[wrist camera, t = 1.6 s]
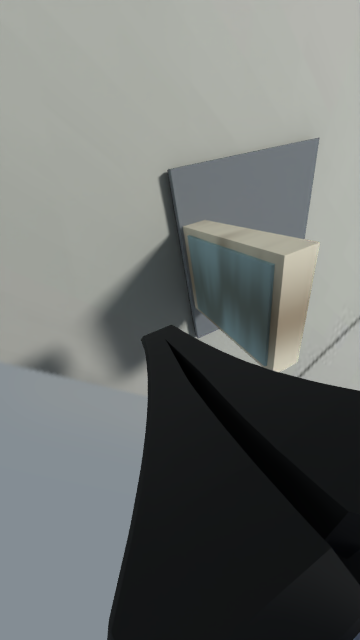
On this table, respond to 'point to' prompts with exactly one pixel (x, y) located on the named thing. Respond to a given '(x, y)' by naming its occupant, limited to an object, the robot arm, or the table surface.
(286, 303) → the birch framed mirror
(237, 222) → the rubber mat
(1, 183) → the table surface
